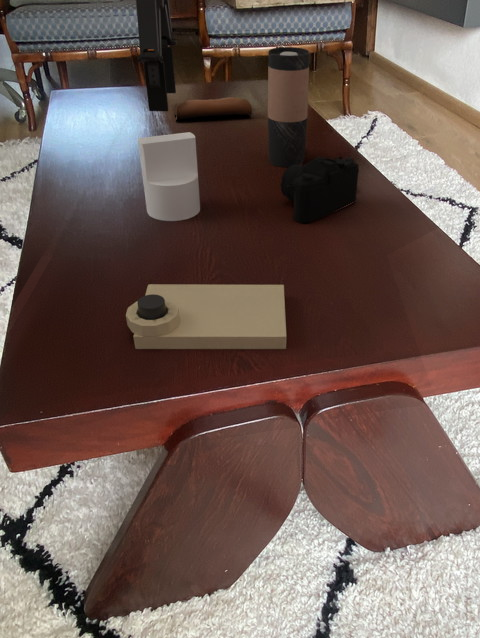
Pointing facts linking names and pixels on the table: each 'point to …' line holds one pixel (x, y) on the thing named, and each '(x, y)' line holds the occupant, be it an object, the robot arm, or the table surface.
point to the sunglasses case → (213, 107)
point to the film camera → (320, 187)
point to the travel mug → (287, 105)
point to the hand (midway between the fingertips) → (163, 101)
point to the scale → (213, 318)
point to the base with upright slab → (170, 176)
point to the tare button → (151, 307)
